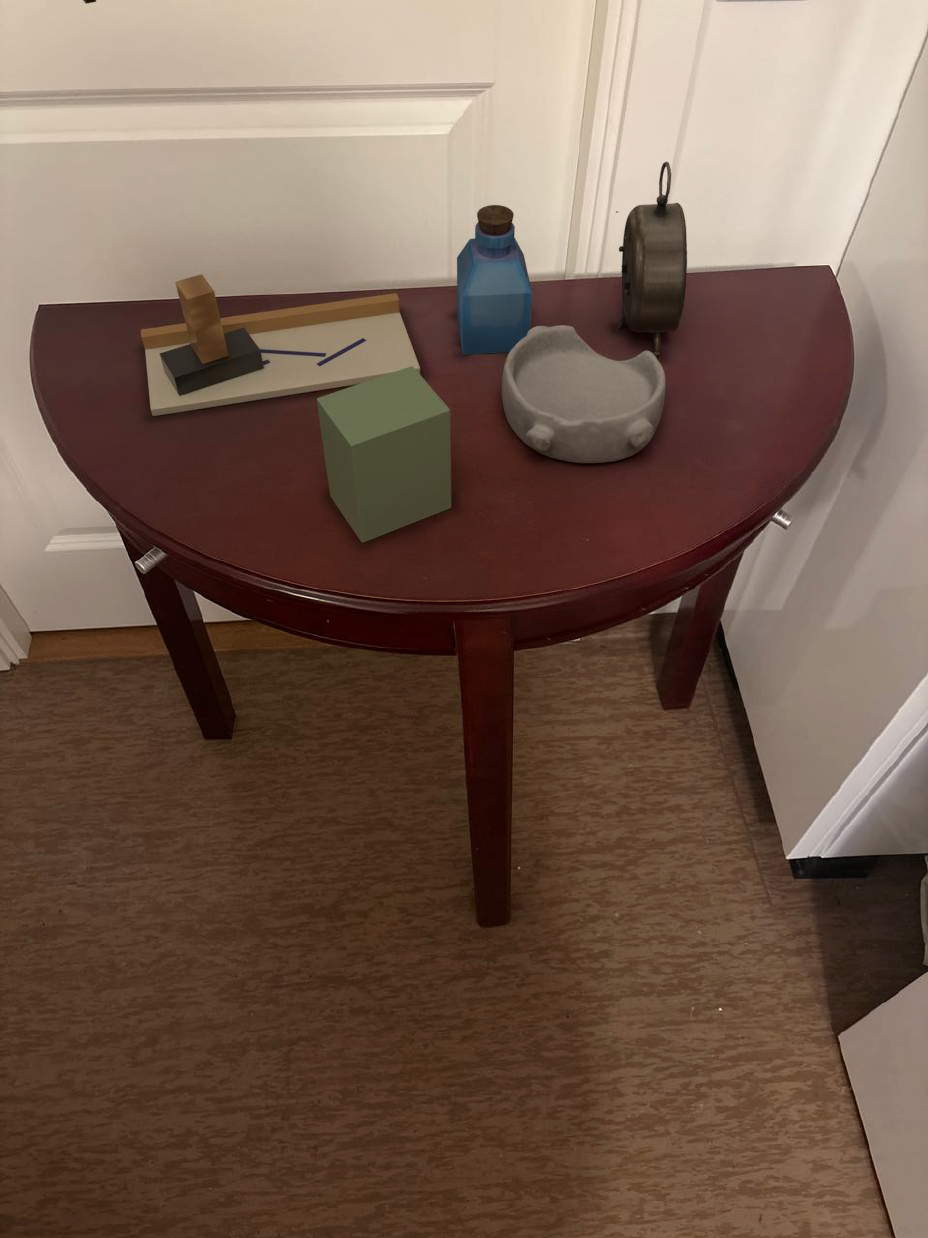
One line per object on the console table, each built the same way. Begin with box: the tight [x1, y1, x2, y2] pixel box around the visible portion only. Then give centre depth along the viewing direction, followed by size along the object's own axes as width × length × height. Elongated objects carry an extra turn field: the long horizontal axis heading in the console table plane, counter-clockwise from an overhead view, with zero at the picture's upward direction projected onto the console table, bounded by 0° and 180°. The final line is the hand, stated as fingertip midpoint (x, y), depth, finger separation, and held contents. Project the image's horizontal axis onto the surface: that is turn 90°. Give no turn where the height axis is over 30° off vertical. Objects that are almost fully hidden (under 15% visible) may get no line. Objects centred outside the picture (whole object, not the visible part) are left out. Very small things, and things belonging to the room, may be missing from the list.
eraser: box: [160, 273, 264, 396], centre depth 88 cm, size 8×4×8 cm, turn 119°
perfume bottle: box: [456, 204, 533, 356], centre depth 91 cm, size 6×6×12 cm
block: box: [316, 366, 452, 544], centre depth 78 cm, size 8×6×10 cm
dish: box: [501, 324, 667, 464], centre depth 86 cm, size 14×14×5 cm
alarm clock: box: [617, 161, 688, 358], centre depth 90 cm, size 11×5×16 cm, turn 179°
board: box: [140, 292, 421, 417], centre depth 92 cm, size 24×10×2 cm, turn 104°
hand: (26, 10), depth 68 cm, fingers open, 8 cm apart
